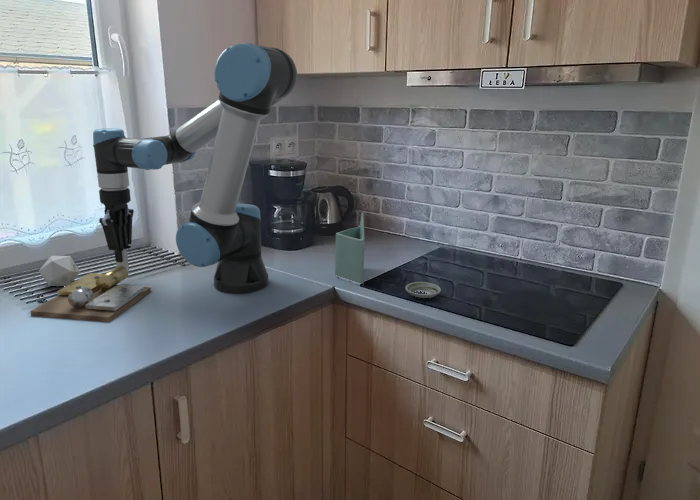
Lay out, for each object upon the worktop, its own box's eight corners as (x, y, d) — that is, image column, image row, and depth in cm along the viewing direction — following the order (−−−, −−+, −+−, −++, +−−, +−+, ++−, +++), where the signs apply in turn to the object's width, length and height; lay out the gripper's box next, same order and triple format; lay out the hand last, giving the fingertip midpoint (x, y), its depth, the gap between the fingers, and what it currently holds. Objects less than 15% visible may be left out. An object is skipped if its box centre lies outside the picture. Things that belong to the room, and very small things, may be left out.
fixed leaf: (144, 290, 140) (143, 275, 138) (115, 310, 126) (113, 295, 125) (102, 287, 141) (100, 272, 140) (69, 307, 128) (67, 291, 127)
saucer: (399, 290, 148) (400, 282, 147) (431, 288, 150) (432, 280, 150) (412, 304, 139) (412, 295, 138) (446, 301, 142) (446, 292, 141)
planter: (334, 267, 165) (335, 206, 160) (360, 268, 166) (361, 206, 160) (335, 286, 150) (336, 218, 144) (363, 286, 150) (365, 219, 144)
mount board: (150, 291, 143) (150, 287, 143) (109, 321, 124) (108, 317, 124) (82, 286, 145) (81, 282, 145) (30, 315, 126) (30, 310, 126)
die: (54, 295, 140) (76, 264, 141) (26, 277, 140) (48, 246, 141) (70, 295, 149) (91, 265, 149) (44, 278, 149) (64, 248, 150)
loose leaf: (130, 279, 147) (128, 265, 146) (101, 297, 134) (99, 282, 133) (90, 276, 149) (88, 262, 147) (57, 294, 135) (55, 279, 134)
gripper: (114, 183, 147) (123, 263, 154) (86, 191, 135) (96, 278, 141) (140, 184, 146) (147, 265, 153) (113, 193, 134) (122, 280, 141)
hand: (123, 271), depth 147 cm, fingers closed
